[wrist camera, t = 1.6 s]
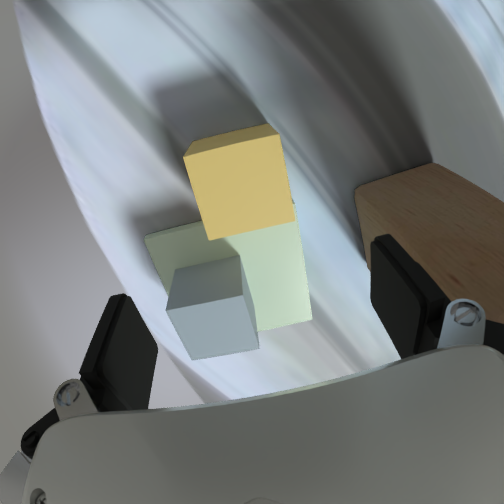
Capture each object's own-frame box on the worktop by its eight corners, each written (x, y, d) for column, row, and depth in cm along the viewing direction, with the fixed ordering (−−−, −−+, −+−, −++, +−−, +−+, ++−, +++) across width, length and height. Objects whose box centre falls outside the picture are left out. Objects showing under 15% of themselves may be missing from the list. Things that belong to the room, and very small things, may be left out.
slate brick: (175, 269, 29) (165, 310, 24) (239, 254, 29) (242, 295, 24) (195, 317, 33) (191, 360, 27) (254, 306, 32) (259, 348, 27)
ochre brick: (192, 141, 25) (183, 157, 19) (268, 123, 24) (279, 134, 19) (212, 209, 28) (208, 240, 23) (282, 192, 27) (295, 221, 22)
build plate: (146, 234, 28) (143, 239, 28) (292, 199, 28) (294, 203, 27) (192, 337, 36) (191, 343, 35) (310, 313, 35) (312, 319, 34)
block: (348, 185, 27) (487, 343, 10) (434, 157, 26) (592, 264, 9) (365, 269, 32) (453, 427, 15) (439, 239, 31) (548, 363, 14)
